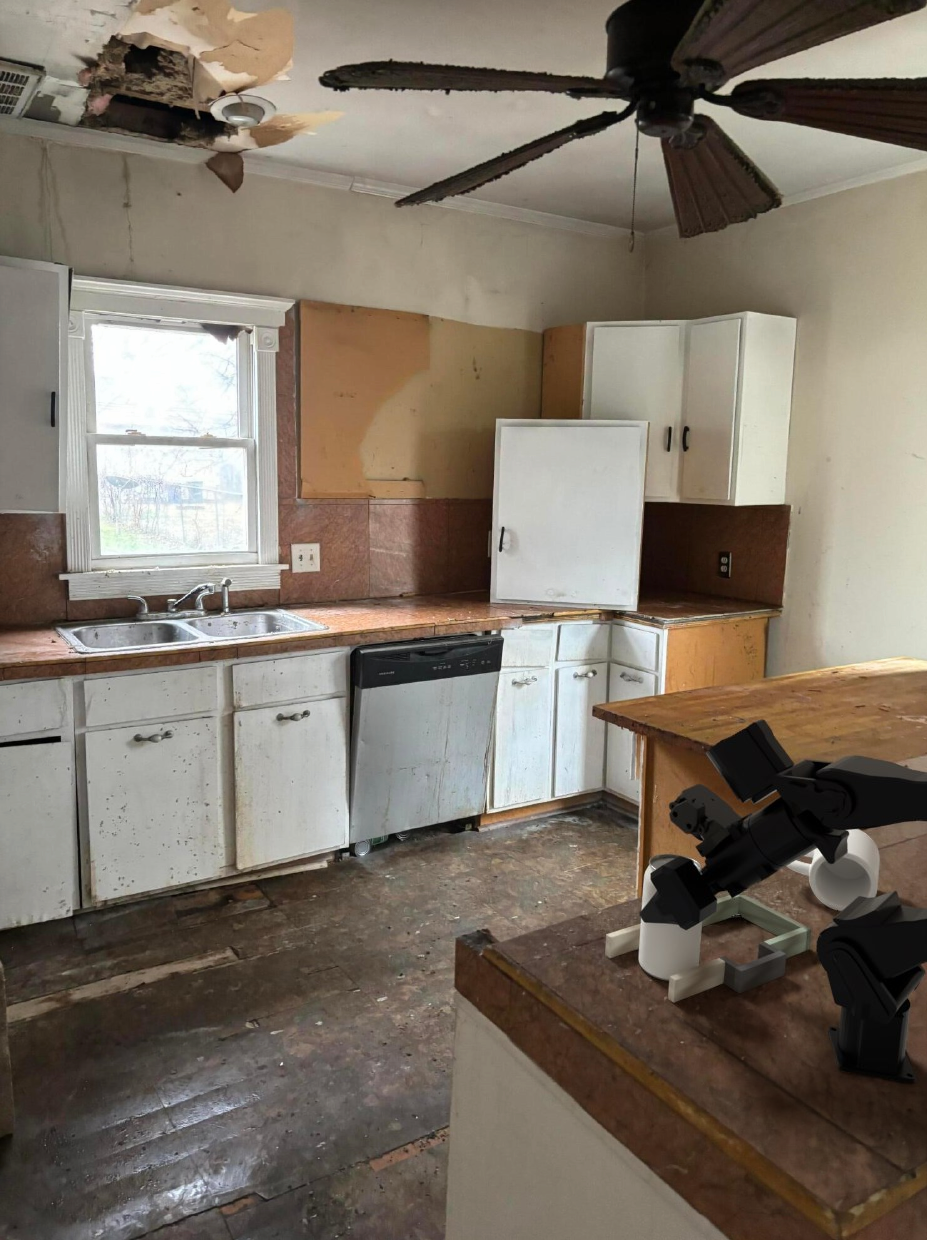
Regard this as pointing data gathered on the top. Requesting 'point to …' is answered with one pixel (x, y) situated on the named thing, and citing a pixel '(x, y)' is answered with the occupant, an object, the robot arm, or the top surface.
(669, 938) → the can
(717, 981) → the channel
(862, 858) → the mug
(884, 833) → the top surface
